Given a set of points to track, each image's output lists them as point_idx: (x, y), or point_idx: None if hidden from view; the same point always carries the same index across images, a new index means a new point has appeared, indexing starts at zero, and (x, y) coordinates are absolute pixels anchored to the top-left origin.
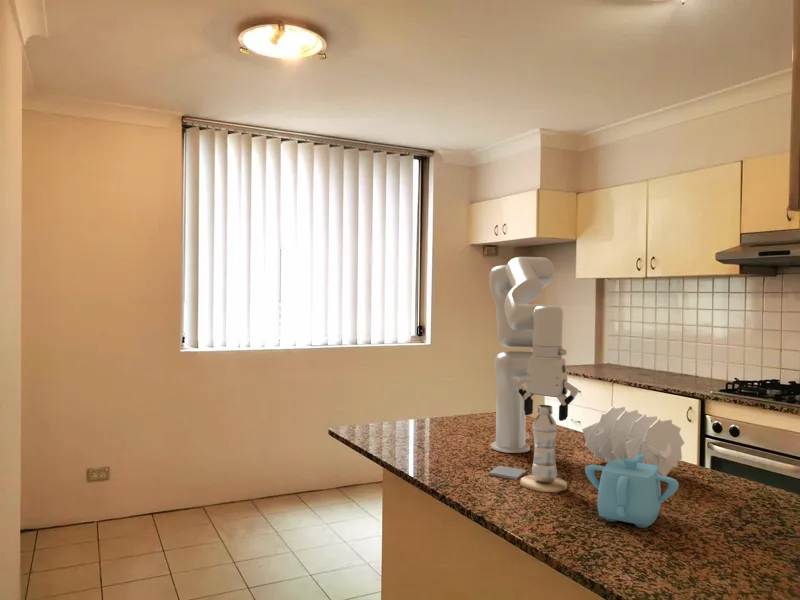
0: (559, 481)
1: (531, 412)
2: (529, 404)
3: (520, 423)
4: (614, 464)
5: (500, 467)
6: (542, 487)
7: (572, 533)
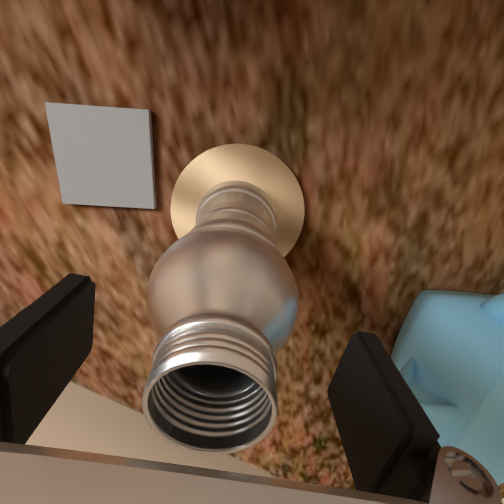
0: (279, 188)
1: (89, 303)
2: (42, 391)
3: None
4: (490, 423)
5: (63, 126)
6: None
7: (337, 433)
